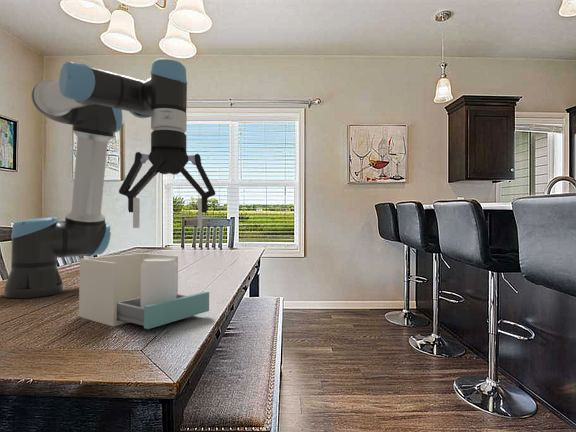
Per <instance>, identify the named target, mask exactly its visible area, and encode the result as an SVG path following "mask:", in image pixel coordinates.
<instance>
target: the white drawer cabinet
mask: <svg viewBox="0 0 576 432" xmlns="http://www.w3.org/2000/svg"><path fill="white" fill-rule="evenodd" d="M148 258H174V259H175V260H174V261H175V262H176V264H177V292H176V294H179V293H178V291H179V289H178V287H179V286H178V285H179V284H178V283H179V255H170V254H168V255H167V254H161V253H160V254H159V253H148V252H139V253H127V254H117V255H108V256H107V255H106V256H97V257H96V256H95V257H87V258H85V257H84V258H79V283H78V285H79V286H78V287H79V290H78V292H79V294H78V295H79V296H78V297H79V298H78V300H79V301H78V317H79V318H82V319H85V320H89V321H93V322H97V323H100V324H103V325H106V326H110V327H118V326H121V325H124V324H129V323H130V322H128V321H124V320H120V319H117V302H120V301H125V300H130V299H134V298H139V297H141V264H142V263H143V260H144V259H148Z"/></svg>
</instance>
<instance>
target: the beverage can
mask: <svg viewBox="0 0 576 432" xmlns="http://www.w3.org/2000/svg"><path fill="white" fill-rule="evenodd" d="M174 260H175V259H174V258H148V259H144V260H143V263H142V264H141V299H140V307H142V308H144V306H146V305H150V304H155V303H159V302H163V301H168V300H172V299H176V292H177V264H176V262H175V261H174Z"/></svg>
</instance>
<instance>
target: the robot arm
mask: <svg viewBox="0 0 576 432" xmlns="http://www.w3.org/2000/svg"><path fill="white" fill-rule="evenodd" d="M150 67H151V68H150V69H151V70H150V78H148V79H146V80H140V79H137V78H133V77H131V76H126V75H123V74H118V73H115V72H111V71H108V70H107V71H106V70H103V69H100V68H97V67H94V66H90V65H87V64H85V63H78V62H73V61H66V62H65V63H63V64H62V67H61V68H60V73H59V77H58V78H57V79H45V80H42V81H40V82H38V83H37V84H36V85H35V86H34V87H33V89H32V91H31V100H32V103H33V106H34V107H35V108H36V110H37V111H38V112H39V113H40V114H42V115H43V116H44V117H46V118H48V119H50V120H51V121H54V122H58V123H61V124H63V125H64V124H66V125H70V126H72V132H73V133H74V135H76V137H77V142H76V151H75V152H76V153H75V154H76V155H75V163H74V165H75V166H74V175H73V176H74V177H73V188H72V200H71V210H70V211H69V212H68V213H66V214H65V220H64V221H59V219H58V217H56V216H55V217H54V216H51V217H39V218H30V219H22V220H18V221H15V222H13V224H12V227H11V228H12V229H11V235H10V239H11V259H10V260H11V266H10V267H11V268H10V272H9V275H8V276H7V277H8V278H7V280H6V282H5V285H4V288H3V297H4V298H8V299H29V298H30V299H31V298H40V297H48V296H53V295H56V294H59V293H63V291H64V282H63V279H62V277H61V274H60V271H59V269H58V258H73V257H74V258H77V257H92V256H99V255H102V254H103V253H104V252H106V250H107V249H108V246H109V244H110V241H111V235H112V233H111V226H110V224H109V222H108V221H106V216H104V215H103V213H102V203H103V194H104V184H105V183H104V182H105V172H106V165H107V164H106V162H107V153H108V143H109V142H110V141H111V140H112V139H114V137H115V135H114V134H115V133H118V132H120V131H121V129H122V128H121V127H122V126H123V111H126V112H129V113H130V114H131V115H133V116H134V117H136V118H139V119H146V118H150V119H151V120H150V129H151V130H152V131H151V133H150V152H149V154H147V153H141V152H140V151H136V153H135V155H134V162H133V164H132V165H131V167H130V169H129V171H128V173H127V174H126V176H125V178H124V181H123V183H122V184H121V186H120V188H119V189H118V194H120V195H123V196H124V197H125V196H126V197H127V210H128V212H129V213H132V228H133V229H138V228H139V229H140V224H141V223H140V222H141V221H140V213H141V211H140V208H141V207H140V201H141V200H140V197H137V196H138V195H139V194H140V193H141V192H142V191H143V189H144V188H145V187H146V186H148V184H149V183H150V182H151V180H153V178H155V177H156V176H157V175H158V173H159V174H161V175H169V174H170V175H175V176H176V175H178V174H180V173H181V174H182V176H184V178H185V179H186V180H187V182H189V184H191V186H192V188H194V190H195V191H196V192H197V193H198V194H199V195H200V196H201V197H199V198H198V199H197V228H203V213H207V212H208V199H209V198H210V197H214V196H215V195H216V191H215V189H214V187H213V185H212V183H211V181H210V179H209V176H208V175H207V173H206V170H205V168H203V167H204V166H203V165H202V160H201V159H202V157H201V156H200V154H199V153H195V154H193V155H188V154H187V135H186V132H187V119H188V117H187V109H188V108H187V107H188V105H187V102H188V101H187V100H188V99H187V98H188V97H187V96H188V93H187V92H188V81H187V68H186V66H185V64H183V63H182V62H180V61H179V60H176V59H171V58H157V59H155V60H154V61H152V62H151V66H150ZM147 161H149V162H150V163H151V166H150V168H148V170H147V172H146V173H145V174H144V175H143V176H142V177H141V178H140V179H139V180H138V182H137V183H136V184H134V181H135V180H136V178H137V176H138V174H139V173H140V170H142V169H141V168H142V166H143V164H146V162H147ZM189 161H190V162H191V164H192V165H194V166H195V167H196V170H197V171H198V173H199V175H200V177H201V179H202V181H203V182H204V185H205V187H206V189H207V191H206V192H205V190H204V189H203V188H202V187H201V185H200V184H199V183H198V182H197V181H196V180H195V179H194V177H193V176H192V175H191V174H190V173H189V172H188V170H187V169H186V168H185V166H186V165H187V164H188V162H189ZM133 184H134V186H133V187H132V185H133Z"/></svg>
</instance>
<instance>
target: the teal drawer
mask: <svg viewBox="0 0 576 432" xmlns="http://www.w3.org/2000/svg"><path fill="white" fill-rule="evenodd" d="M140 299H141V297H139V298H134V299H130V300H125V301H120V302H117V319H120V320H124V321H128V322H129V323H132V324H136V325H140V326H143V329H147V330H150V329H154V328H156V327H160V326H164V325H166V324H170V323H172V322H176V321H179V320H180V321H181V320H184V319H187V318H190V317H194V316H196V315H201V314H203V313H206V312H209V311H210V292H209V291H203V292H198V293H194V294H190V295H184V294H179V293H178V294H176V299H172V300H168V301H163V302H159V303H155V304H150V305H146V306H144V308H142V307H140Z"/></svg>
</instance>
